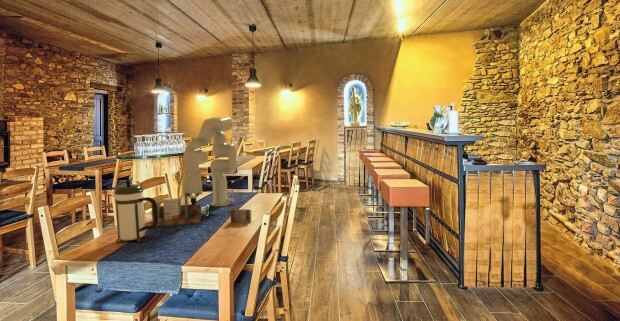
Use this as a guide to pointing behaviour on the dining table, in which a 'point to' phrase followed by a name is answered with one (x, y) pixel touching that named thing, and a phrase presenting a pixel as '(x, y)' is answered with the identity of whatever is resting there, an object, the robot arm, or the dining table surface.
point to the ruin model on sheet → (240, 215)
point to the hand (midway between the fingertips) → (193, 204)
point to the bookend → (187, 215)
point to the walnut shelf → (192, 210)
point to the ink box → (172, 208)
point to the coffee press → (132, 212)
